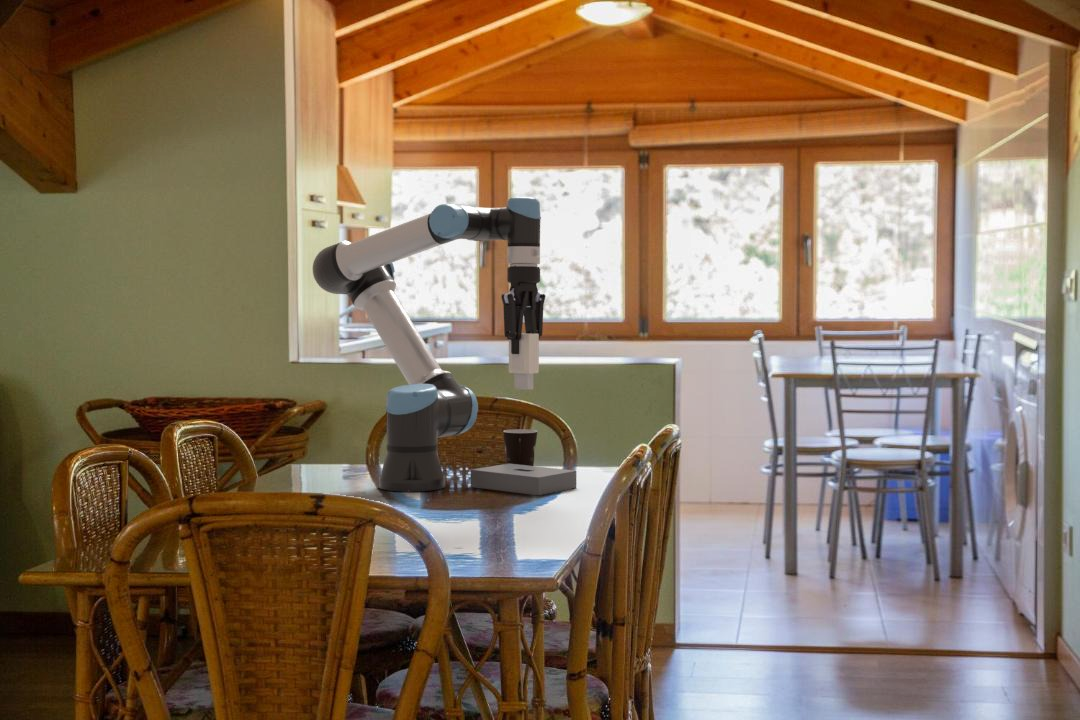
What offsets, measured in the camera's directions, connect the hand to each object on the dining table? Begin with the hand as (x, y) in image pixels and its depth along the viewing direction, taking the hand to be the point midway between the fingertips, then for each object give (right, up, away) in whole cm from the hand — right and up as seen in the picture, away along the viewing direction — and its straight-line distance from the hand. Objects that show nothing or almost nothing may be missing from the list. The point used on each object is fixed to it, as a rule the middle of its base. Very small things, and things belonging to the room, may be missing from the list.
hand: (523, 368), depth 298 cm
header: (0, -27, +1) cm, 28 cm away
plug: (0, -5, 0) cm, 5 cm away
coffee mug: (-2, -26, +28) cm, 39 cm away
